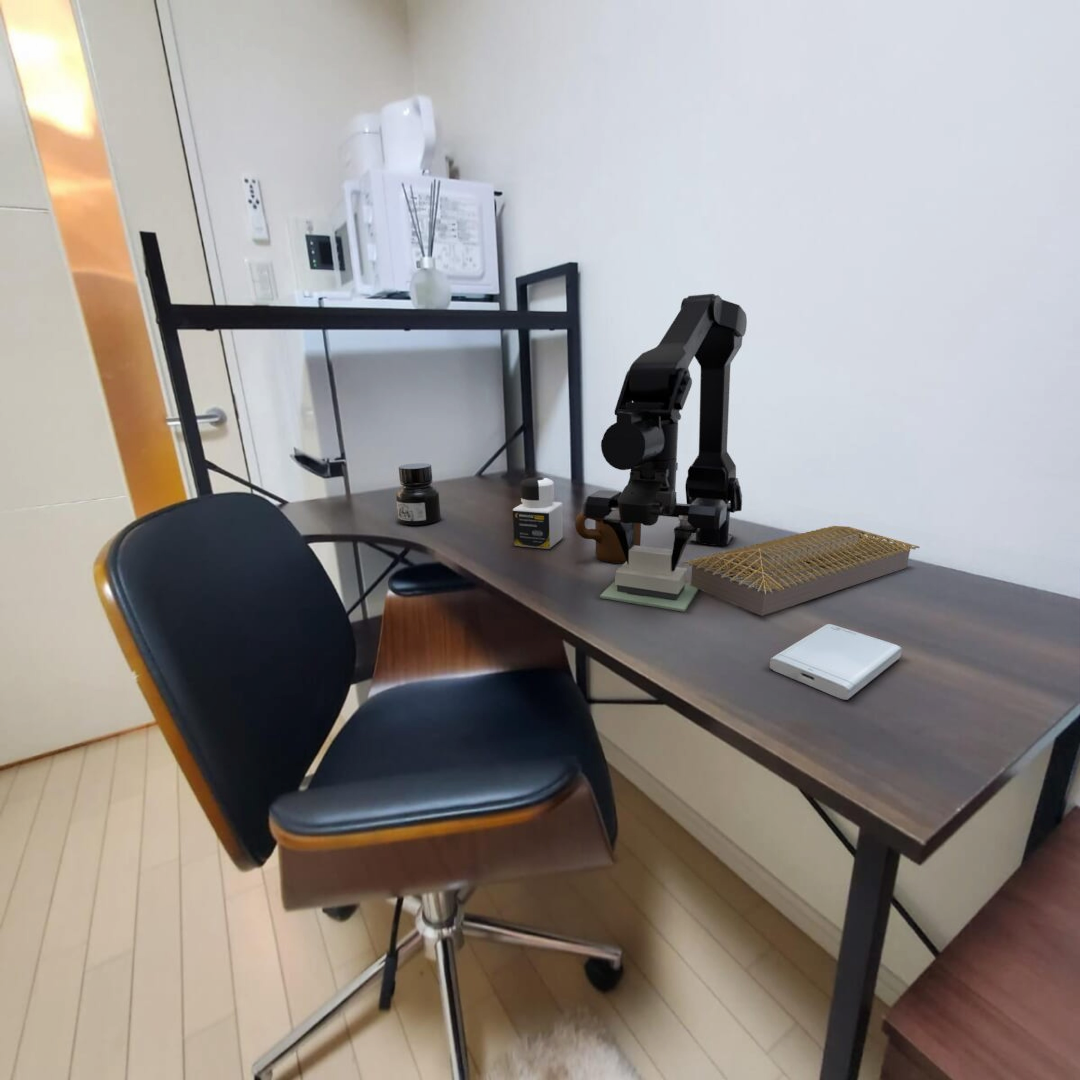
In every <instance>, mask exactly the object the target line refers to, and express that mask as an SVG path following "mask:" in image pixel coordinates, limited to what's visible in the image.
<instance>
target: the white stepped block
mask: <svg viewBox="0 0 1080 1080" xmlns="http://www.w3.org/2000/svg"><path fill="white" fill-rule="evenodd" d="M672 553H673V549H668V548H660V547H653V546H652V547H651V546H643V545H640V546H635V545H634V546H633V547H632V548H631V549H630V550H629V565H628V564H627V561H626V562H625V563H622V565H621V566H620V567H619V568H618V569H616V571H615V576H614V577H615V579H614V581H615V585H617V591H622V592H628V593H634V594H641V595H647V596H653V597H660V598H666V599H672V600H677V599H678V597H679V596H680V594H681V593H682V591H683V590H684V588H685V584H687V582H688V568H684V567H678V566H677V567H676V569H675V571H672V568H671V559H672Z"/></svg>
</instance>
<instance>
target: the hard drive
mask: <svg viewBox="0 0 1080 1080" xmlns="http://www.w3.org/2000/svg"><path fill="white" fill-rule="evenodd" d="M901 657H902V647H901V646H899V645H897V644H895V643H892V642H889V641H886V640H882V639H879V638H876V637H873V636H870V635H867V634H864V633H861V632H857V631H854V630H851V629H847V628H845V627H842V626H838V625H835V624H833V623H827V624H825V625H823V626H822V627H820V628H818V629H817V630H815V631H813V632H811V633H810V634H808V635H807V636H805V637H804V638H802V639H800V640H798V641H797V642H795V643H794V644H792V645H790V646H789V647H787V648H786V649H784V650H782V651H781V652H778V653H777V654H776V655H774V656H773V657H771V658H770V660H769V661H770V662H769V668H770V670H772V671H773V672H775V673H778V674H781V675H782V676H785V677H788V678H789V679H793V680H795V681H797V682H800V683H801V684H805V685H807V686H809V687H811V688H813V689H816V690H819V691H821V692H823V693H826V694H828V695H830V696H833V697H836V698H837V699H839V700H844V701H847V700H849V699H850V698H852V697H853V696H854V695H855V694H857V693H858V692H859V691H860V690H862V689H863V688H864V687H865V686H867V685H868V684H870V682H872V681H873V680H874V679H875V678H877V677H878V676H879V675H880V674H882V673H883V672H884V671H885V670H887V669H888V668H889V667H890V666H892V665H893V664H894V663H895V662H896V661H898V660H900V658H901Z"/></svg>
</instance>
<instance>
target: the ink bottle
mask: <svg viewBox="0 0 1080 1080" xmlns="http://www.w3.org/2000/svg"><path fill="white" fill-rule="evenodd" d="M432 469H433V468H432V464H431V463H420V462H419V463H416V462H415V463H408V464H401V465H399V466H398V475H399V484H400V488H399V489H398V490H397V492H396V493H395V496H396V509H397V517H398V522H399V523H400V524H402V525H406V526H424V525H430V524H433V523H436V522H438V521H440V520H441V517H442V516H441V504H440V493H439V492H440V491H439V490H438V488H437V487H435V486H434V485H433V484H432V483H433V481H434V480H433V470H432Z"/></svg>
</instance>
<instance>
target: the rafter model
mask: <svg viewBox="0 0 1080 1080" xmlns="http://www.w3.org/2000/svg"><path fill="white" fill-rule="evenodd" d="M916 549H920V546H919V545H915V544H912V543H908V542H905V541H901V540H897V539H894V538H890V537H887V536H884V535H880V534H877V533H872V532H870V531H866V530H863V529H858V528H855V527H851V526H845V525H844V526H843V525H842V526H841V525H832V526H831V525H830V526H827V527H822V528H819V529H818V528H817V529H815V530H810V531H805V532H801V533H797V534H795V535H790V536H784V537H780V538H778V539H773V540H768V541H767V542H765V541H764V542H761V543H756V544H754V545H753V544H752V545H749V546H744V547H741V548H740V547H739V548H736V549H731V550H727V551H724V552H719V553H715V554H712V555H707V556H704V557H703V556H702V557H699V558H695V559H689V560H686V561H683V564H687V565H688V566H689V567H690V566H691V575H690V577H691V578H690V585H692V586H694V587H696V588H699V590H700V591H703V592H706V593H708V594H711V595H713V596H715V597H717V598H720V599H722V600H725V601H727V602H729V603H731V604H733V605H736V606H739V607H740V608H743V609H746V610H747V611H750V612H752V613H755V614H757V615H760V616H765V615H768V614H771V613H774V612H777V611H780V610H783V609H787V608H789V607H793V606H795V605H798V604H802V603H805V602H807V601H811V600H813V599H817V598H820V597H823V596H825V595H829V594H831V593H835V592H838V591H841V590H845V589H847V588H850V587H853V586H856V585H859V584H862V583H865V582H868V581H871V580H874V579H877V578H880V577H883V576H886V575H889V574H891V573H892V574H893V573H895V572H898V571H901V570H904V569H908V563H909V558H910V554H911V553H910V552H911V550H916ZM807 562H808V563H807ZM801 564H802V565H801ZM787 567H789V568H787ZM822 567H823V568H822ZM790 568H791V569H790ZM781 569H783V570H781ZM817 569H818V570H817ZM808 570H809V571H808ZM774 571H776V572H774ZM810 571H812V572H810ZM765 572H767V573H765ZM777 572H778V573H777ZM801 572H804V573H805V574H804V573H801ZM768 573H770V574H771V575H770V574H768ZM759 574H760V575H759ZM796 574H797V575H796ZM798 575H799V576H798ZM731 576H733V577H731ZM739 576H741V577H739ZM790 576H791V577H790ZM782 578H784V579H782ZM741 579H743V580H741ZM785 579H786V580H785ZM776 580H778V581H779V582H778V581H776ZM751 582H753V583H752V584H750V583H751Z"/></svg>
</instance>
